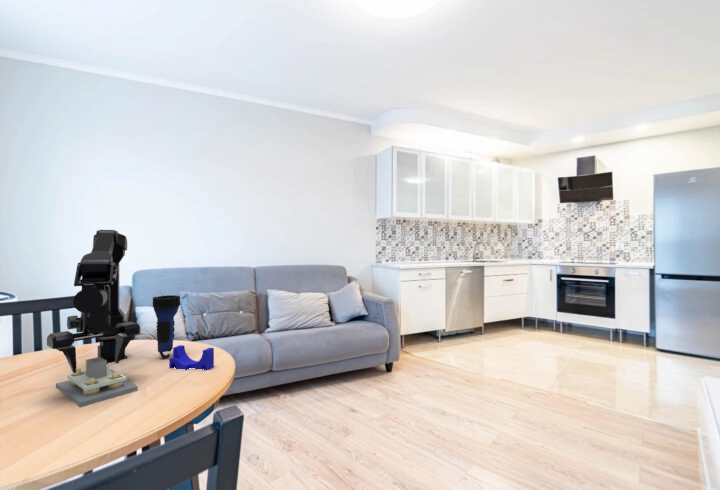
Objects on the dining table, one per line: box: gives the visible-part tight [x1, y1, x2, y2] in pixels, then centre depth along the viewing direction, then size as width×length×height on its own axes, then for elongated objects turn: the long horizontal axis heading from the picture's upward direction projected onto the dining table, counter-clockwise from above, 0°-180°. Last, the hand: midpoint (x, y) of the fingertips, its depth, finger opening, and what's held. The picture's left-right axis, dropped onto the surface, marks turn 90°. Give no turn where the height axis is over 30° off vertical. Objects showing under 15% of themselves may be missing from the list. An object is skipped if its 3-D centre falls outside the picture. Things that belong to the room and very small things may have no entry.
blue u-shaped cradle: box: [168, 344, 215, 371], centre depth 109 cm, size 12×4×6 cm, turn 75°
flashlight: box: [152, 294, 181, 359], centre depth 119 cm, size 8×8×20 cm
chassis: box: [55, 368, 139, 408], centre depth 93 cm, size 12×19×4 cm, turn 53°
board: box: [66, 356, 127, 391], centre depth 93 cm, size 9×14×5 cm, turn 53°
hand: (96, 367), depth 93 cm, fingers open, 9 cm apart
